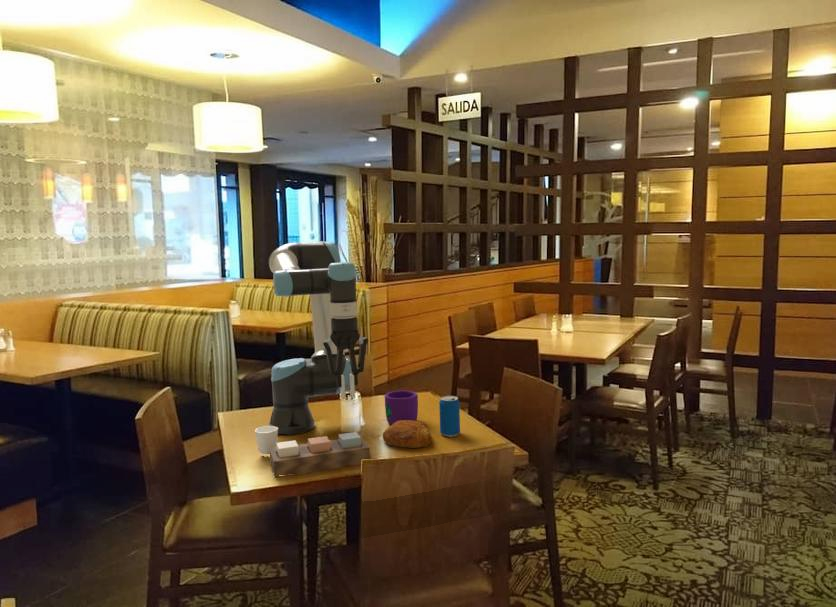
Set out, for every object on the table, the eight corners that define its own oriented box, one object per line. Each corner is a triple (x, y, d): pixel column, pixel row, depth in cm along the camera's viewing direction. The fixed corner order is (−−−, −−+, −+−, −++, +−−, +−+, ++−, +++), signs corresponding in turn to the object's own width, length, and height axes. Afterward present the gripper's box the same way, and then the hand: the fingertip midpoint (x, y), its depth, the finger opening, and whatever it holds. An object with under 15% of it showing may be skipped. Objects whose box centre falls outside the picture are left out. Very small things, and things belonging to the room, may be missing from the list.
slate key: (343, 454, 182) (342, 439, 182) (339, 448, 187) (338, 434, 187) (361, 452, 184) (360, 437, 183) (357, 446, 189) (356, 431, 189)
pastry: (418, 459, 190) (420, 434, 188) (375, 445, 197) (376, 421, 196) (441, 443, 202) (443, 420, 201) (399, 430, 210) (401, 407, 208)
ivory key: (279, 464, 176) (278, 448, 176) (277, 457, 182) (276, 442, 181) (299, 461, 178) (298, 446, 178) (296, 455, 183) (295, 440, 183)
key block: (274, 477, 174) (273, 461, 173) (270, 463, 184) (269, 448, 183) (370, 462, 182) (369, 447, 182) (361, 450, 193) (360, 436, 192)
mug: (424, 424, 217) (423, 395, 216) (393, 429, 212) (392, 400, 211) (403, 411, 233) (402, 385, 231) (374, 416, 228) (373, 389, 227)
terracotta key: (311, 459, 179) (311, 444, 179) (308, 453, 184) (307, 438, 184) (330, 456, 181) (330, 441, 181) (327, 450, 186) (326, 436, 186)
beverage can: (458, 437, 201) (457, 401, 200) (438, 437, 203) (437, 400, 201) (461, 431, 208) (460, 395, 206) (441, 430, 209) (440, 395, 208)
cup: (258, 460, 187) (256, 434, 186) (252, 450, 196) (251, 425, 195) (282, 456, 189) (280, 430, 189) (275, 446, 199) (274, 421, 198)
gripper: (319, 320, 175) (324, 403, 178) (373, 316, 180) (376, 397, 183) (315, 317, 182) (319, 397, 185) (366, 313, 187) (370, 391, 190)
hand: (347, 397), depth 184 cm, fingers open, 2 cm apart
